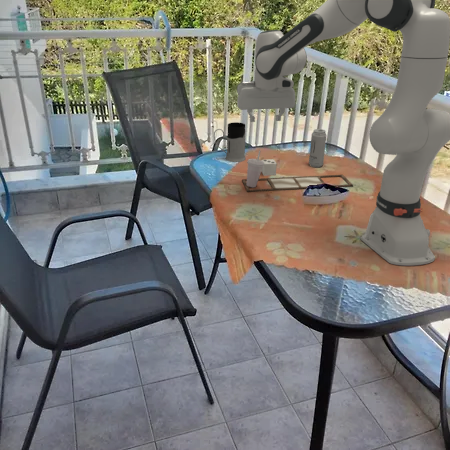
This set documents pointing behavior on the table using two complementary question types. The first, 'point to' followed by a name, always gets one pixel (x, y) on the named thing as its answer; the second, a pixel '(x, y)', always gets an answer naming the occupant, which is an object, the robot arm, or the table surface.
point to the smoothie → (254, 171)
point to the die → (269, 167)
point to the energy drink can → (317, 148)
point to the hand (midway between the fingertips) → (265, 121)
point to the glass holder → (235, 142)
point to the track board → (294, 182)
